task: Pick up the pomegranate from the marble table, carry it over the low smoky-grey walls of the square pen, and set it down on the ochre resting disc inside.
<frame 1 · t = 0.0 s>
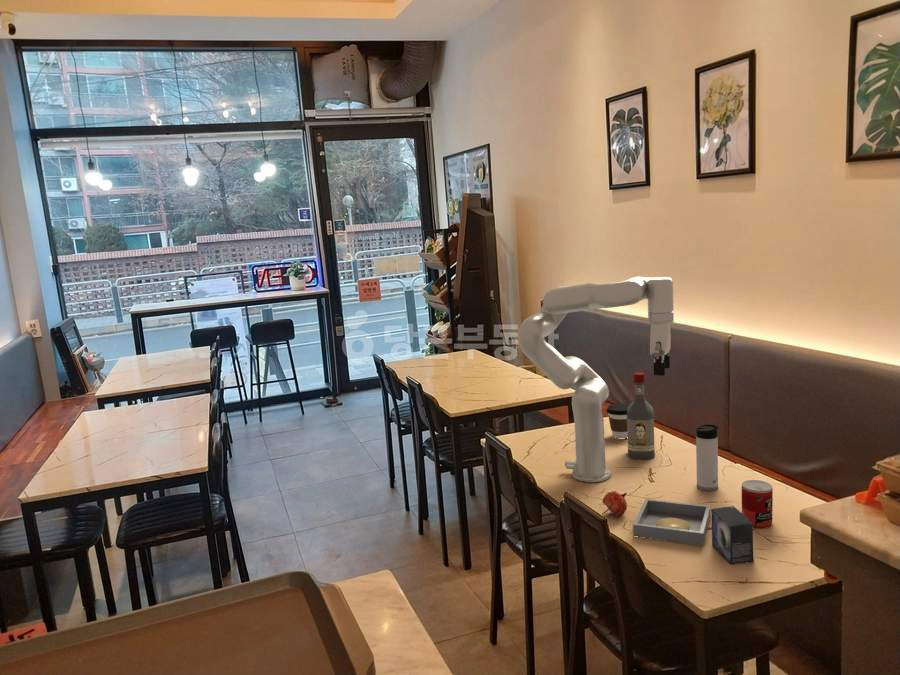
hand: (662, 371, 218), 37 cm above the table, tool pointing down, fingers open, 9 cm apart
small box: (731, 554, 177), on the table
canned food: (756, 523, 192), on the table
pomegranate: (614, 515, 204), on the table
coffee cup: (621, 437, 271), on the table
travel mug: (707, 487, 218), on the table
walled pen: (672, 526, 194), on the table
liquor: (641, 455, 250), on the table
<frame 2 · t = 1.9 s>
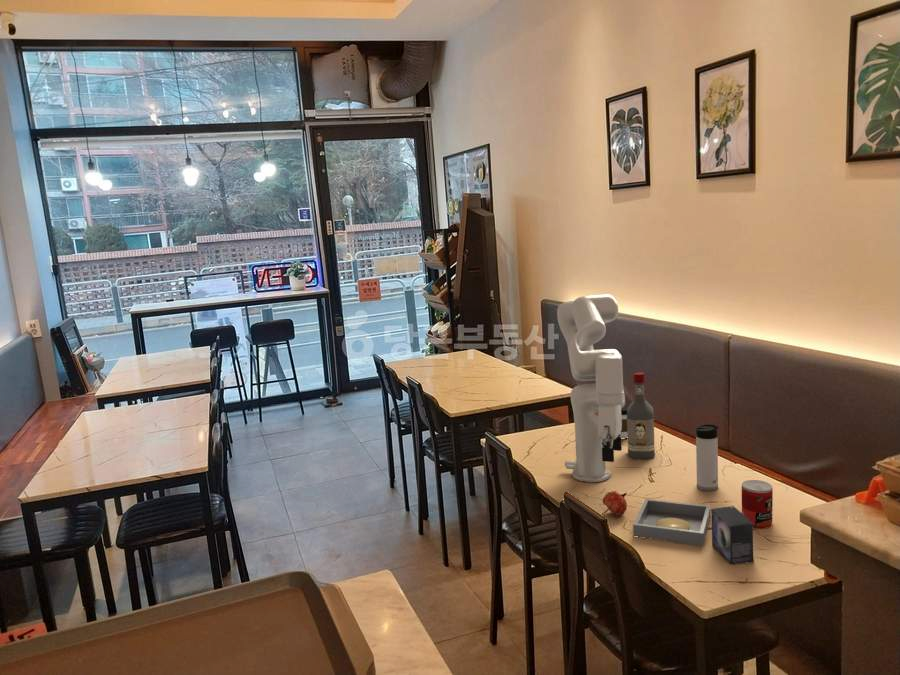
hand: (612, 455, 200), 18 cm above the table, tool pointing down, fingers open, 9 cm apart
nothing on the table moved.
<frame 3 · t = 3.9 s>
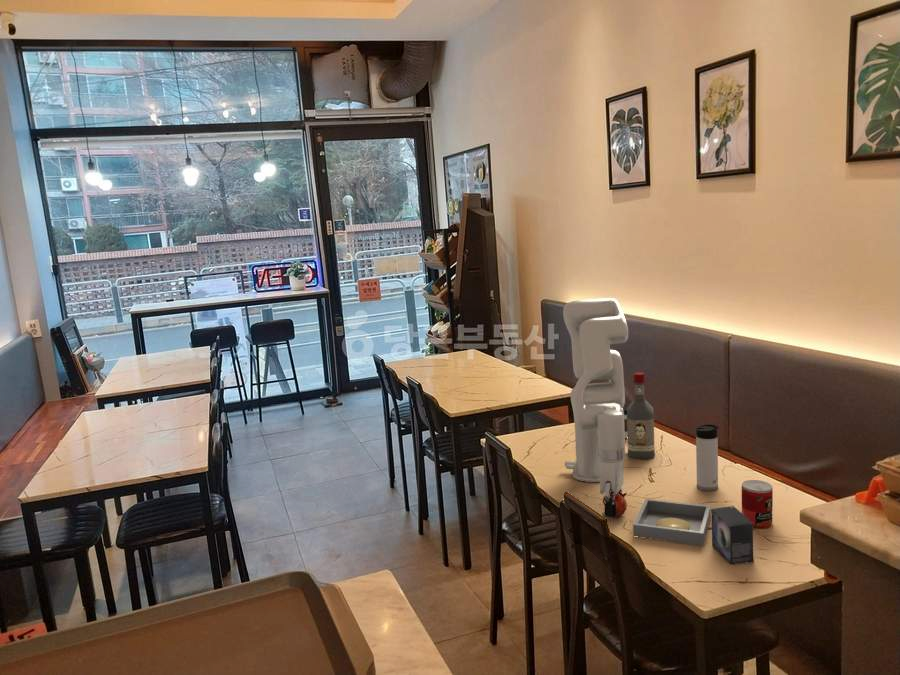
hand: (613, 510, 203), 1 cm above the table, tool pointing down, fingers closed on pomegranate, 7 cm apart
pomegranate: (614, 515, 204), on the table, touching gripper
everything else where it was.
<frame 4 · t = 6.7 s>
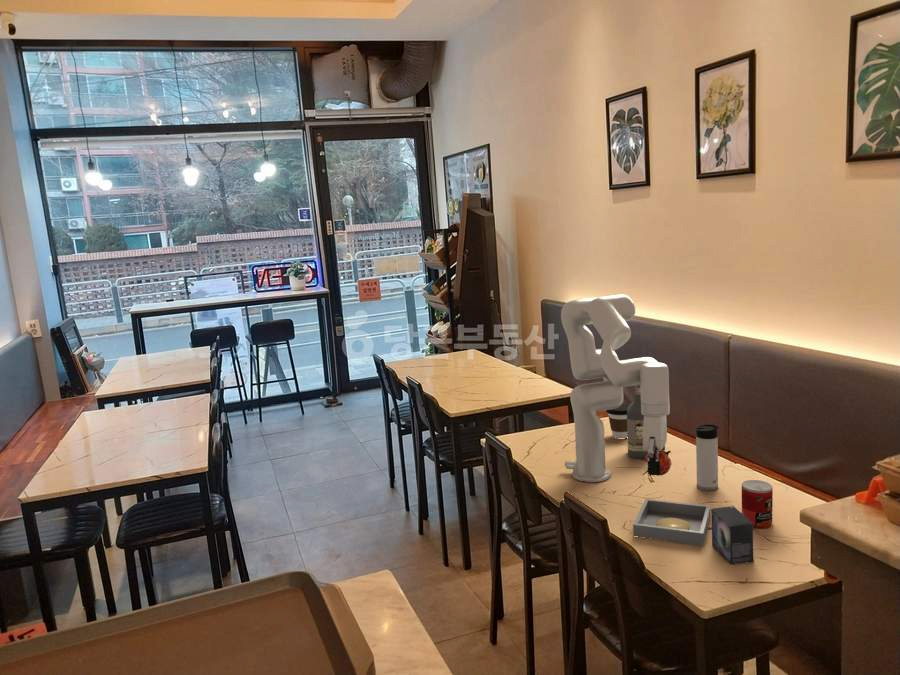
hand: (657, 469, 193), 16 cm above the table, tool pointing down, fingers closed on pomegranate, 7 cm apart
pomegranate: (657, 474, 193), point 15 cm above the table, touching gripper
everything else where it was.
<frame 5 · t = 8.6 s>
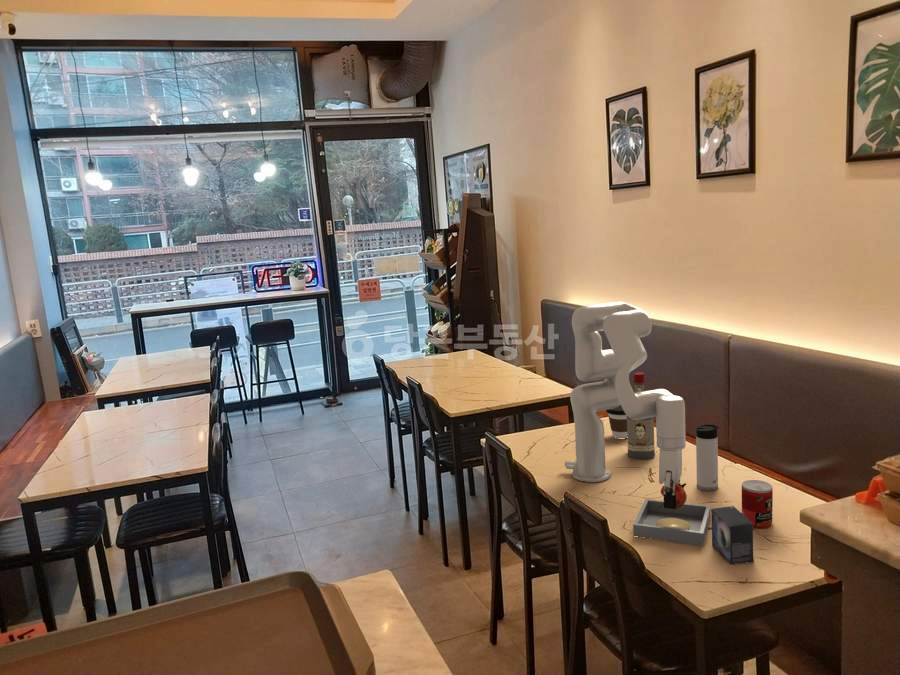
hand: (672, 501, 192), 7 cm above the table, tool pointing down, fingers closed on pomegranate, 7 cm apart
pomegranate: (672, 507, 192), point 6 cm above the table, touching gripper
everything else where it was.
when the fingers open (4 cm above the table, at t = 9.9 s): pomegranate drops 2 cm, resting on walled pen.
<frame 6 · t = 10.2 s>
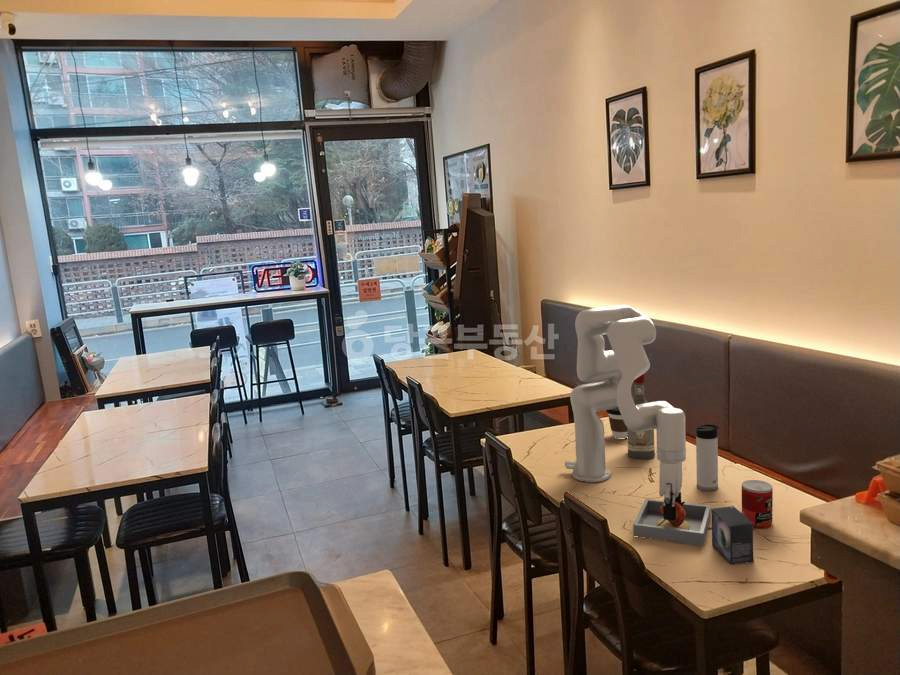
hand: (672, 512, 193), 4 cm above the table, tool pointing down, fingers open, 9 cm apart
pomegranate: (671, 525, 193), resting on walled pen
everything else where it was.
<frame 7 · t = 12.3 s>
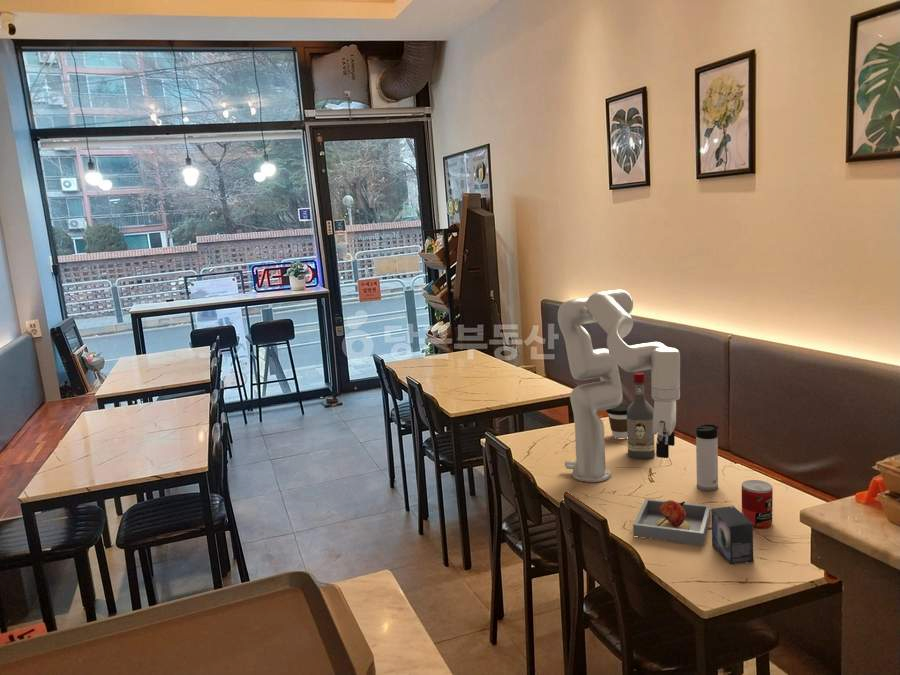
hand: (665, 451, 195), 20 cm above the table, tool pointing down, fingers open, 9 cm apart
nothing on the table moved.
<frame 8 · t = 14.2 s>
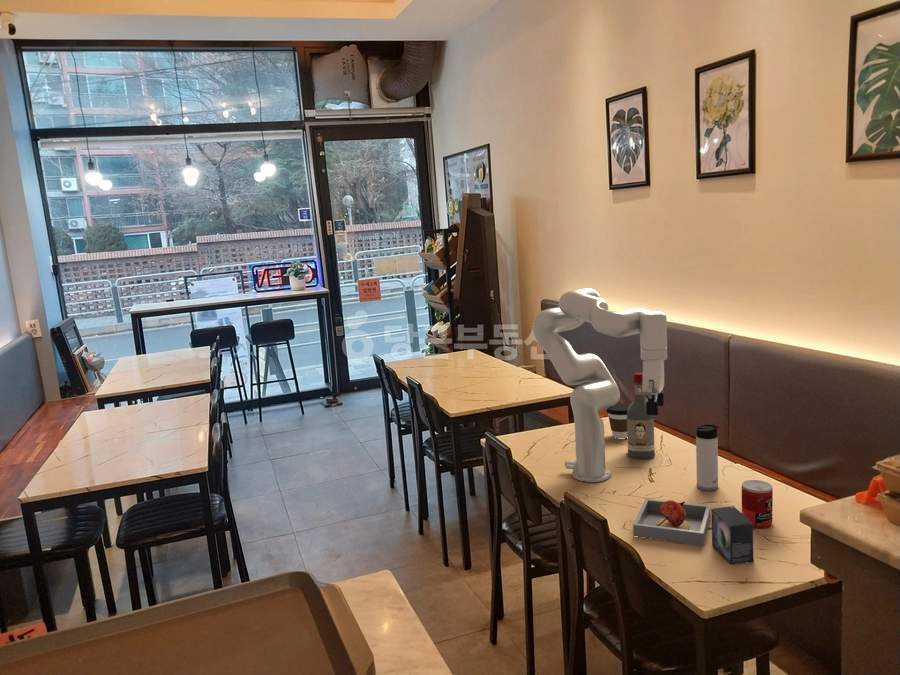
hand: (655, 410, 207), 28 cm above the table, tool pointing down, fingers open, 9 cm apart
nothing on the table moved.
at the end: pomegranate inside the target area on the walled pen (0.4 cm from its centre), point 0.4 cm above the walled pen's base; the gripper is holding nothing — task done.
